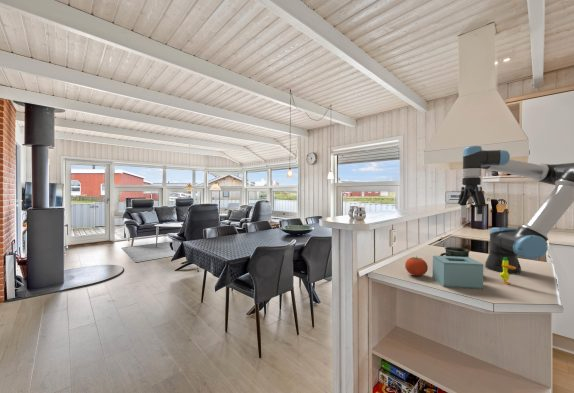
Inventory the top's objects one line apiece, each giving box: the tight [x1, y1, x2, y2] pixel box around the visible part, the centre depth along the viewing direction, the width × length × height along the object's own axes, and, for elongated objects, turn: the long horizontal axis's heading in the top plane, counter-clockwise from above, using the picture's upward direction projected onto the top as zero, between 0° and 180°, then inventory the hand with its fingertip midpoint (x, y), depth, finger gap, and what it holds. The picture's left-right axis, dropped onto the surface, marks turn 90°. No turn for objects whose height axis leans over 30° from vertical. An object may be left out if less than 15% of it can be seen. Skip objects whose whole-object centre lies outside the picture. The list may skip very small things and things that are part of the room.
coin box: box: [431, 255, 484, 290], centre depth 119 cm, size 16×12×11 cm
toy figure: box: [498, 258, 516, 285], centre depth 119 cm, size 7×4×12 cm, turn 18°
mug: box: [439, 246, 470, 258], centre depth 136 cm, size 11×15×12 cm
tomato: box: [404, 255, 429, 277], centre depth 129 cm, size 10×10×10 cm
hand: (470, 219), depth 129 cm, fingers open, 13 cm apart
